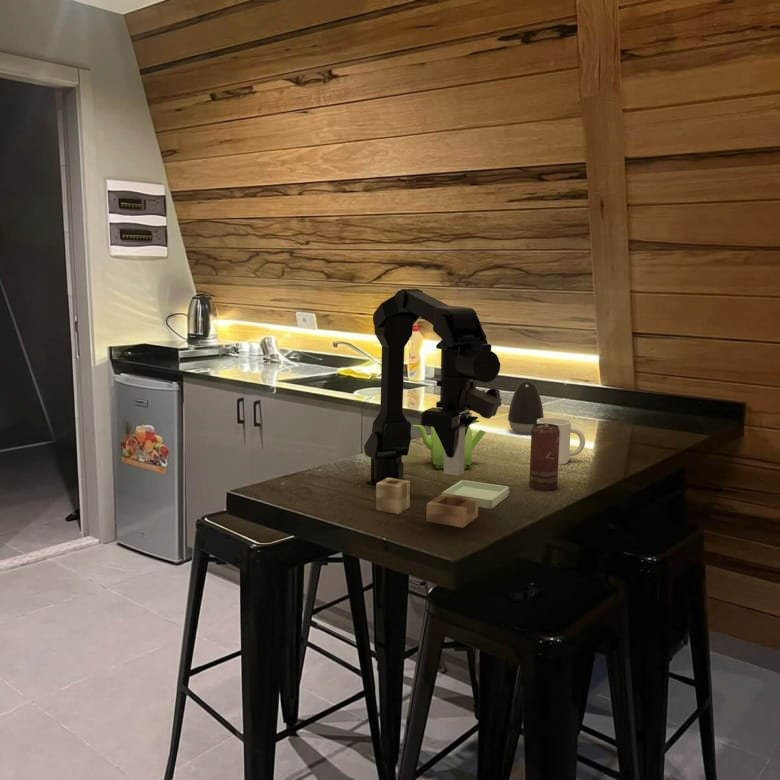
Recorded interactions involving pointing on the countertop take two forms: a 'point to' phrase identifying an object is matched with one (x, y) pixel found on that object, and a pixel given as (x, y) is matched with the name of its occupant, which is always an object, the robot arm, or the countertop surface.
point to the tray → (480, 492)
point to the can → (544, 456)
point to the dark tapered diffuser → (525, 408)
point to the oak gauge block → (452, 510)
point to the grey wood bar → (456, 456)
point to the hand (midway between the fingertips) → (453, 455)
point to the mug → (565, 438)
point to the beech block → (392, 495)
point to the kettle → (438, 449)
